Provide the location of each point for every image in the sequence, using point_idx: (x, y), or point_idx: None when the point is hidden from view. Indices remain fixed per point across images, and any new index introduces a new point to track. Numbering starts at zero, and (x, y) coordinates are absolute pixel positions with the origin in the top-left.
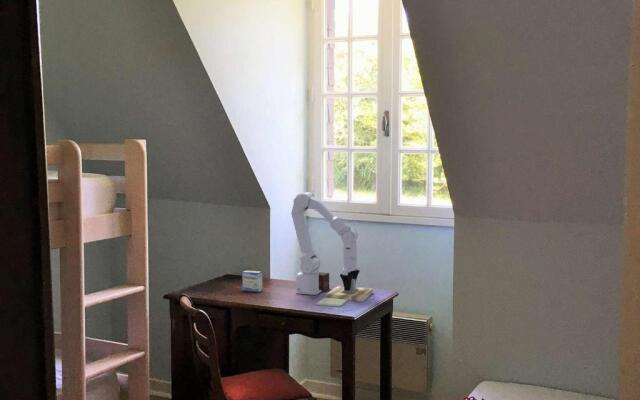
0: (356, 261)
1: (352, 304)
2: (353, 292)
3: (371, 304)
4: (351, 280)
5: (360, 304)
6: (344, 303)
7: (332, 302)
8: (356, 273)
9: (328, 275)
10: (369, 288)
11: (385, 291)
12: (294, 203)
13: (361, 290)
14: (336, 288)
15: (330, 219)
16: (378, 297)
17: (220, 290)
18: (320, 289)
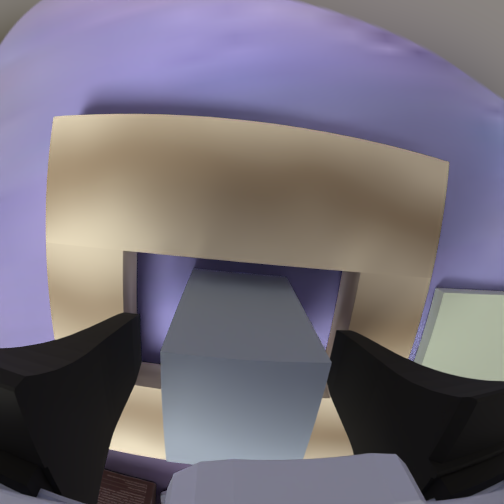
0: None
1: (498, 232)
2: (273, 289)
3: (480, 95)
4: (413, 376)
5: (494, 175)
6: (488, 290)
7: (497, 358)
8: (56, 397)
9: None
10: (56, 149)
11: (16, 47)
12: None
13: (168, 216)
14: (162, 448)
15: None
16: (244, 33)
17: None
18: (154, 500)
